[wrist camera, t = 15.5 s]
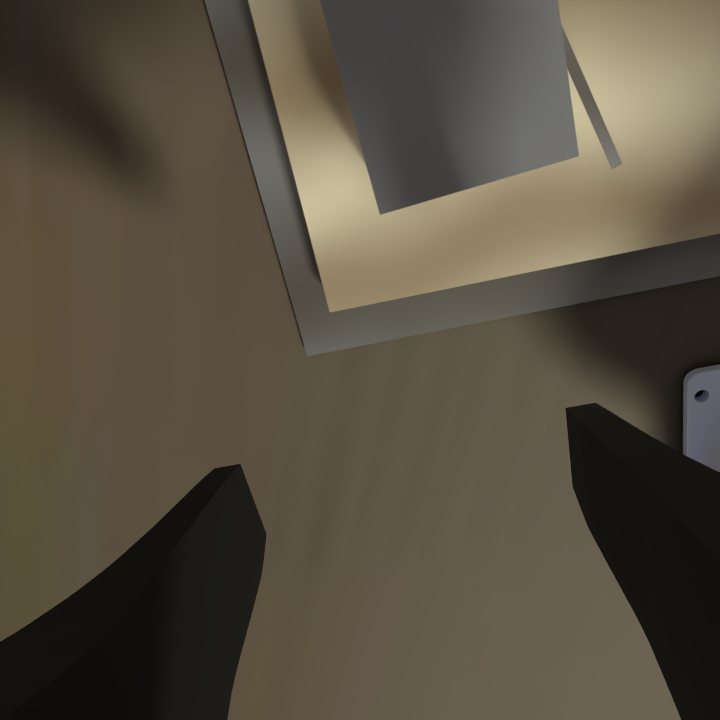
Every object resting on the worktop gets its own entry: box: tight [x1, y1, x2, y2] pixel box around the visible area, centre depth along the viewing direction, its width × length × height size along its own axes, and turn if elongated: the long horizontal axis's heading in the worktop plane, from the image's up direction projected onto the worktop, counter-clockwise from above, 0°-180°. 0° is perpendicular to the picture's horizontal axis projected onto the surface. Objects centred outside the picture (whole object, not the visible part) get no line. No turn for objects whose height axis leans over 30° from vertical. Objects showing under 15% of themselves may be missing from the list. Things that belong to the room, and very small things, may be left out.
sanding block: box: [320, 0, 579, 215], centre depth 13 cm, size 8×4×4 cm, turn 17°
